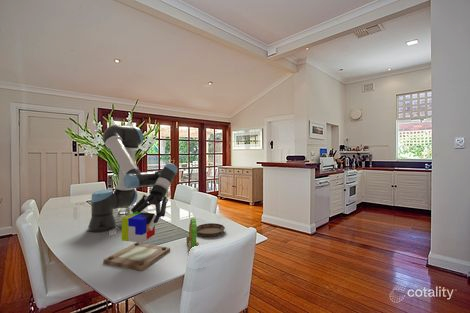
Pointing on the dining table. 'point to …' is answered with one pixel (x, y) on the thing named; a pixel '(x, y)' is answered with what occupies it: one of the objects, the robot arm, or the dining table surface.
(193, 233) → the green upright piece
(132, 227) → the puzzle toy
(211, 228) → the plant saucer
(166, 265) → the dining table surface
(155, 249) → the base plate
